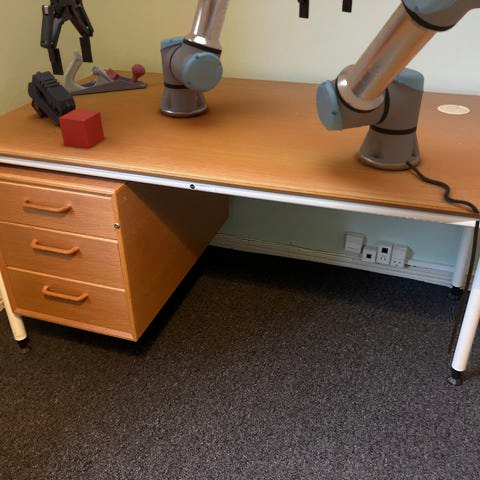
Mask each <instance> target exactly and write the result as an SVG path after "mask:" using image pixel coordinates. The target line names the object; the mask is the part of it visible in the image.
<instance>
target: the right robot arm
mask: <svg viewBox="0 0 480 480" xmlns="http://www.w3.org/2000/svg"><path fill="white" fill-rule="evenodd" d="M297 3H298V6H299V7H298V18H300V19H304V20H305V19H306V20H307V19H309V18H310V17H309V16H310V15H309V14H310V0H297ZM341 3H342V4H341V12H342V13H349V14H350V13H352V12H353V0H342V1H341ZM476 9H480V0H400V4H399V5H398V6H397V7H396V9H395V10H394V11H393V13H391V15H390V16H389V18H388V19H387V20H386V22H385V23H384V25H382V27H381V28H380V30H379V31H378V33H377V34H376V35H375V36H374V38H373V39H372V40H371V42H370V43H369V44H368V46H367V47H366V48H365V50H364V52H362V54H361V55H360V57H359V58H358V60H356V62H355V63H353V64H352V63H351V64H349V65H347V66H345V67H344V68H343V69H341V71H340V72H339V74H338V75H337V76H336V77H335V78H334V79H331V80H329V79H326V80H324V81H321V82H320V83H319V84H318V86H317V89H316V92H315V101H316V102H315V104H316V105H315V106H316V111H317V115H318V118H319V121H320V123H321V125H322V126H323V127H324V128H325V129H326V130H327V131H330V132H334V131H340V132H341V131H343V130H349V129H356V128H361V127H367V126H368V130H367V132H366V135H364V136H365V137H364V138H363V141H362V143H361V145H360V147H359V151H358V159H359V160H360V162H362V163H363V164H364V165H367V166H369V167H372V168H374V169H378V170H385V171H403V170H408V169H411V170H412V171H413V172H414V173H415V174H416V175H417V176H418V177H419V178H420V179H422V180H423V181H425V182H427V183H430V184H434V185H438V186H441V187H443V188H445V191H444V194H443V197H444V199H445V200H446V201H448V202H450V203H452V204H459V205H464V206H467V207H469V208H470V209H471V210H472V211H473V213H474V214H478V215H479V214H480V212H479V209H478V208H477V206H476V205H475V204H473V203H471V202H470V201H468V200H464V199H457V198H452V197H450V196H449V193H450V192H451V188H450V186H449V184H447V183H446V182H443V181H440V180H436V179H431V178H428V177H427V176H425V175H424V174H422V172H421V171H420V170H419V169H418V168H417V167H416V166H418V164H419V163H420V158H421V153H420V151H421V150H420V146H419V140H418V135H417V130H418V124H419V118H420V117H419V116H420V111H421V105H422V100H423V96H424V95H423V94H424V92H425V90H424V87H425V77H424V74H423V73H421V72H420V71H418V70H416V69H413V68H408V67H407V66H408V65H409V64H410V63H411V62H412V61H413V60H414V59H415V57H416V56H417V55H418V54H419V53H420V52H421V51H422V50H423V48H425V46H426V45H428V44H429V42H430V41H431V40H432V38H433V37H435V35H436V34H437V33H444V32H445V33H446V32H448V31H449V30H452V29H453V28H454V27H455V26H457V24H458V23H459V22H460V21H461V20H462V19H463V18H464V17H465V16H466V15H467V14H468V13H469V12H470V11H472V10H476ZM479 230H480V220H479V219H477V220H475V223H474V229H473V236H472V237H473V238H472V247H471V254H470V259H469V260H470V261H469V267H468V271H467V277H466V279H465V285H464V288H463V293H462V296H461V299H460V304H459V308H458V309H457V313H456V317H455V321H454V325H453V329H452V332H451V337H450V340H449V345H448V348H447V354H449V355H451V354H452V351H453V346H454V344H455V343H454V342H455V339H456V335H457V331H458V328H459V324H460V320H461V317H462V313H463V310H464V306H465V302H466V300H467V295H468V291H469V288H470V284H471V279H472V275H473V271H474V267H475V261H476V254H477V247H478V239H479V238H478V237H479Z"/></svg>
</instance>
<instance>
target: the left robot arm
mask: <svg viewBox="0 0 480 480" xmlns="http://www.w3.org/2000/svg"><path fill="white" fill-rule="evenodd" d="M230 1H231V0H197V3H196V8H195V12H194V15H193V16H194V17H193V20H192V23H191V27H190V28H191V29H190V32H188V33H187V34H185V35H184V36H172V37H165V38H163V39H161V41H160V45H159V46H160V49H159V52H160V59H161V68H162V79H163V92H162V97H161V102H160V107H159V108H160V113H161V114H162V115H164V116H165V117H171V118H191V117H196V116H199V115H202V114H205V113H206V112H207V110H208V103H207V100H206V98H205V94H204V93H206V92H207V93H208V92H209V91H212V89H215V88H216V87H217V86H218V85H219V83H220V82H221V80H222V77H223V74H224V67H223V64H222V62H221V56H222V53H223V49H224V48H223V47H222V45H221V44H222V43H221V42H220V39H221V36H222V31H223V28H224V24H225V20H226V18H227V17H226V16H227V13H228V8H229V6H230V5H229V4H230ZM41 13H42V14H41V15H42V16H41V17H42V19H41V31H40V40H39V42H40V43H39V46H40V48H43V49H46V50H47V52H48V53H47V54H48V59H49V62H50V65H51V70H52V75H53V76H64V74H65V72H64V68H63V62H62V57H61V50H60V48H59V47H58V42H59V38H60V36H61V30H62V28H63V25H64V24H65V22H68V21H70V24H71V25H72V26H73V27H74V28H75V30H76V31H77V33H78V34H79V35H80V37H78V39H79V45H80V53H81V54H82V58H83V63H88V64H92V63H94V59H93V53H92V46H91V38H93V37H94V33H95V30H94V27H93V25H92V23H91V20H90V18H89V16H88V14H87V11H86V9H85V7H84V3H83V0H49V4H42V5H41Z"/></svg>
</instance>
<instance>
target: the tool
mask: <svg viewBox="0 0 480 480" xmlns="http://www.w3.org/2000/svg"><path fill="white" fill-rule="evenodd" d="M27 93H28V96H29V98H31V103H30V104H31V107H32V108H33V110H34V111H35V113H36V114H37V115H38V116H39V117H40V118H42V117H45V116H47V117H48V118H50V119H51V121H53V123H54V124H55V125H56V126H60V122H59V118H60V117H61V116H63V115H65V114H67V113H69V112H71V111H73V110H75V109H76V107H77V105H76V102H75V97H73V95H71V94H70V93H69V92H68V91H67V90H66V89H65V88H64V85H63V83H62V84H61V82H60V81H58V79H57V78H56V77H55V75H53V73H52V72H51V71H50V70H47V71H42V72H41V71H40V70H39V71H36V72H35V74H32V75H31V81H29V82H28V83H27Z"/></svg>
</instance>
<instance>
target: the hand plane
mask: <svg viewBox="0 0 480 480" xmlns="http://www.w3.org/2000/svg"><path fill="white" fill-rule="evenodd" d="M83 63H84V62H83V58H82V52H80V51H79V50H77V49H76V48H73V50H72V58H71V62H70V63H69V65H68V67H67V68H66V70H65V72H64V75H63V80H62V86H63V87H64V88H65V89H66V90H67V91H68V92H69V93H70V94H71V95H72V96H74V95H84V94H94V93H104V92H112V91H113V92H114V91H121V90H132V89H142V88H146V83H145V81H143V80H139V78H142V77H144V76H145V75H146V68H145V66H143V65H141V64H139V63H134V64H133V65H132V66H131V73H132V76H131V78H130V77H126V76H123V75H120V74H119V73H117V72H116V71H114V70H113V69H112V68H111V67H109V68H108V70H107V71H105V70H104V69H103V68H102V67H100V65H94V66H92V68H91V70H90V72H91V75H93V76H94V77H97V78H95V79H90V81H89V82H86V83H80V84H78V83H77V82H76V81H75V78H76V74H77V72H78V71H79V69H80V68H81V66H82V65H83Z"/></svg>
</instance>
